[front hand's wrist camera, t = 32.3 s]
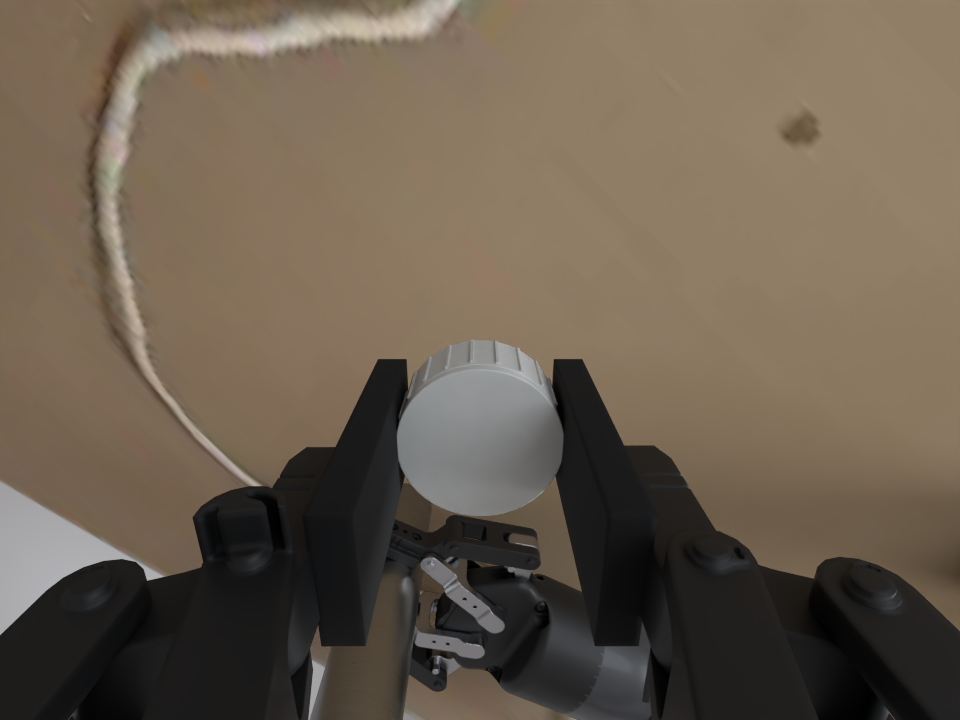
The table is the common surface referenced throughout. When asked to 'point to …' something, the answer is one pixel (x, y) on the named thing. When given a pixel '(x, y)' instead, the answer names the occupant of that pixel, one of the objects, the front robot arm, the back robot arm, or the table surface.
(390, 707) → the bottle
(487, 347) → the cap
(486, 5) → the table surface
